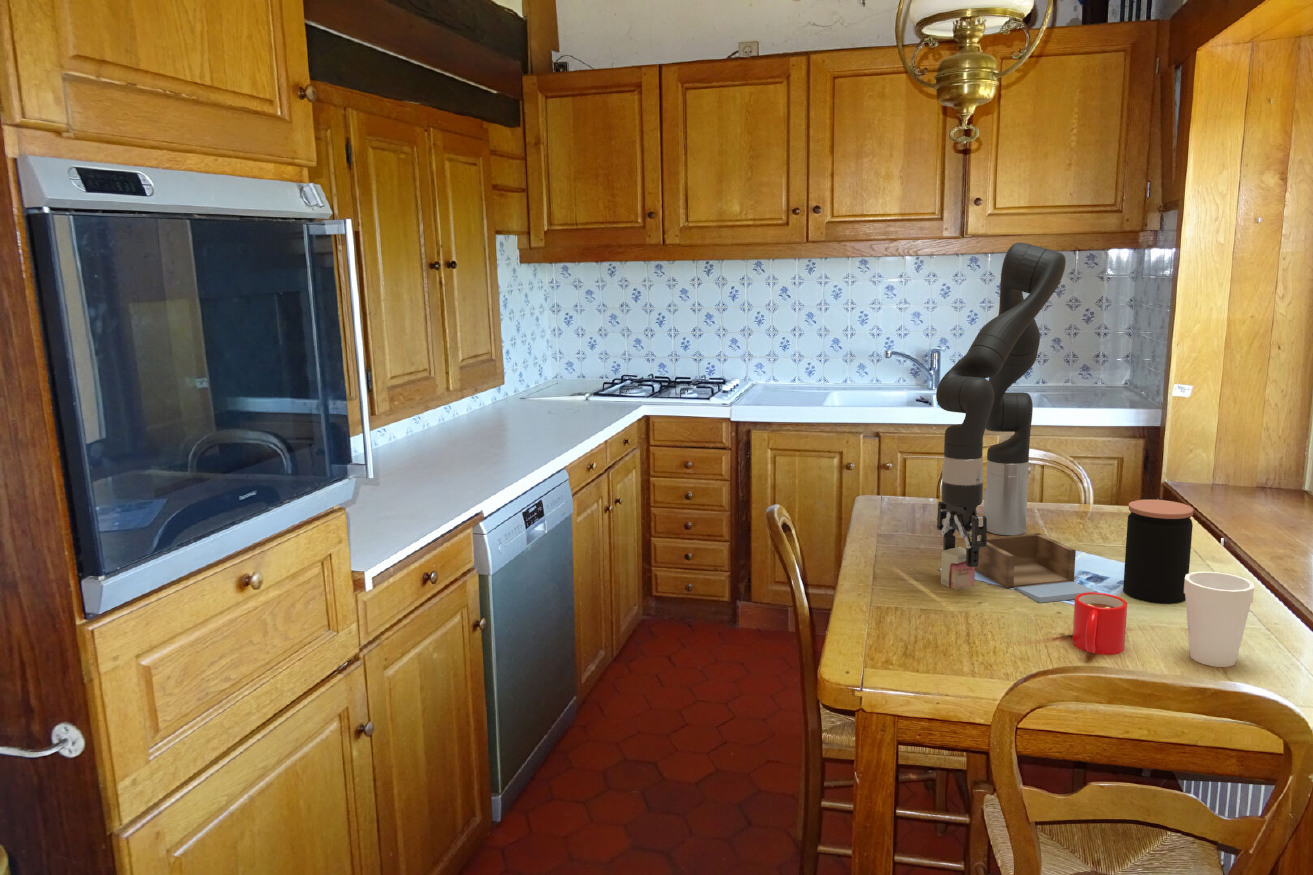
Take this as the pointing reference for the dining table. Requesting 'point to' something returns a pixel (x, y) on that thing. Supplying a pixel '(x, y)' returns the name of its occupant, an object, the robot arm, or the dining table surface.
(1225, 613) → the foam cup
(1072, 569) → the open wooden box
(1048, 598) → the panel
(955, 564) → the small box
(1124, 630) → the mug
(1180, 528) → the coffee jar
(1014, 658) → the dining table surface
